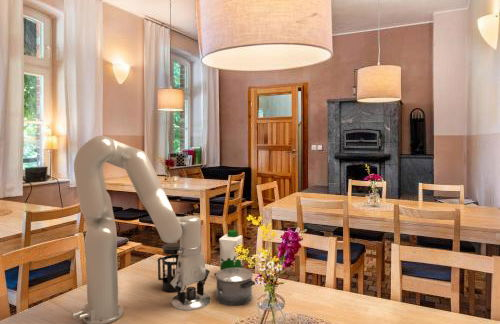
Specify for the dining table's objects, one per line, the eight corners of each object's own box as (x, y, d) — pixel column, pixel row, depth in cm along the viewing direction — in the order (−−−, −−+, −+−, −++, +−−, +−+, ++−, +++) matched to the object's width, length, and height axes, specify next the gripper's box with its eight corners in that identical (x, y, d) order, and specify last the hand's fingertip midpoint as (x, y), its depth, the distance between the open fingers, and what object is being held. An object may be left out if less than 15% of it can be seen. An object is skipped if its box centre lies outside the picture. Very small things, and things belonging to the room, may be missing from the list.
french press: (191, 283, 146) (190, 228, 144) (182, 293, 136) (181, 234, 135) (164, 281, 148) (163, 227, 146) (153, 291, 138) (152, 233, 137)
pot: (236, 311, 122) (236, 286, 121) (205, 296, 134) (205, 273, 133) (263, 299, 132) (263, 275, 131) (232, 285, 144) (232, 263, 143)
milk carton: (244, 276, 153) (244, 230, 152) (237, 284, 145) (236, 236, 143) (225, 274, 156) (225, 228, 155) (217, 281, 148) (216, 234, 146)
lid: (186, 315, 120) (186, 300, 120) (164, 302, 130) (163, 288, 130) (218, 302, 130) (218, 288, 130) (195, 290, 140) (195, 277, 140)
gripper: (175, 258, 120) (176, 309, 121) (215, 247, 132) (216, 293, 133) (163, 253, 125) (164, 302, 126) (203, 243, 138) (203, 288, 139)
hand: (191, 297), depth 130 cm, fingers open, 7 cm apart
